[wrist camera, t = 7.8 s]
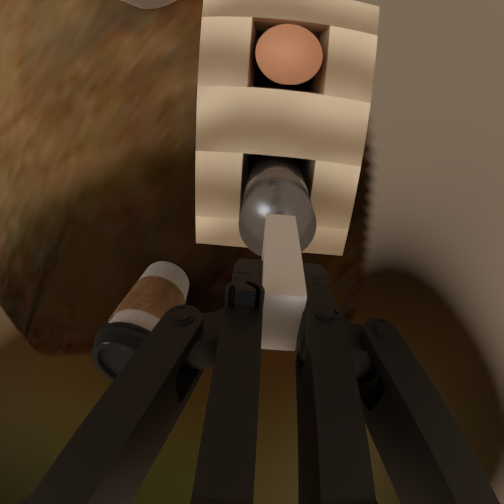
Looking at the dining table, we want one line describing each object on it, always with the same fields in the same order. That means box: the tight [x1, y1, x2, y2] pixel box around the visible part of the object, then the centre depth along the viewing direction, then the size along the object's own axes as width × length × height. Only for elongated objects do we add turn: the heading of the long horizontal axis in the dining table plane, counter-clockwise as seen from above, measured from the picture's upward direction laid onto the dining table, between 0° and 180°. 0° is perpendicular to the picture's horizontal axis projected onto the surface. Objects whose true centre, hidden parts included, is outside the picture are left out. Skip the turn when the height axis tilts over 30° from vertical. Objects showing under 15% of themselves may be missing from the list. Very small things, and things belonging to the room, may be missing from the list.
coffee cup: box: [92, 261, 189, 381], centre depth 33 cm, size 8×8×15 cm
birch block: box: [195, 0, 379, 256], centre depth 24 cm, size 20×12×9 cm, turn 176°
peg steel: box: [238, 155, 317, 256], centre depth 22 cm, size 4×4×9 cm
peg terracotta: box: [255, 24, 323, 85], centre depth 21 cm, size 4×4×9 cm
